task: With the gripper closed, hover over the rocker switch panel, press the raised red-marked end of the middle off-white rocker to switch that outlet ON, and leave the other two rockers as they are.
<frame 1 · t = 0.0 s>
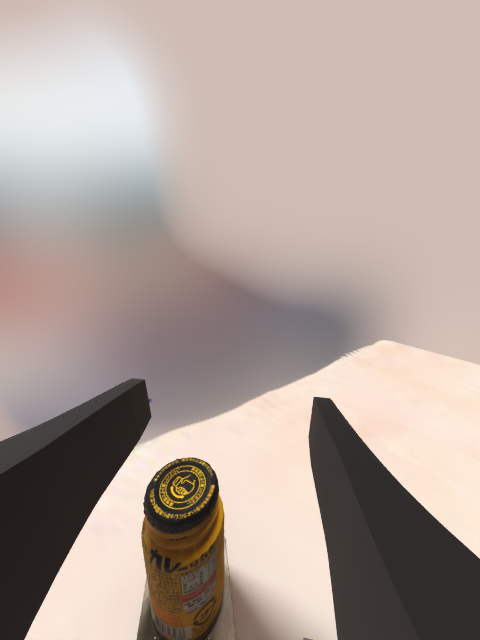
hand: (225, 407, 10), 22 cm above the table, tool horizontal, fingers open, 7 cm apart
condiment: (187, 609, 19), on the table
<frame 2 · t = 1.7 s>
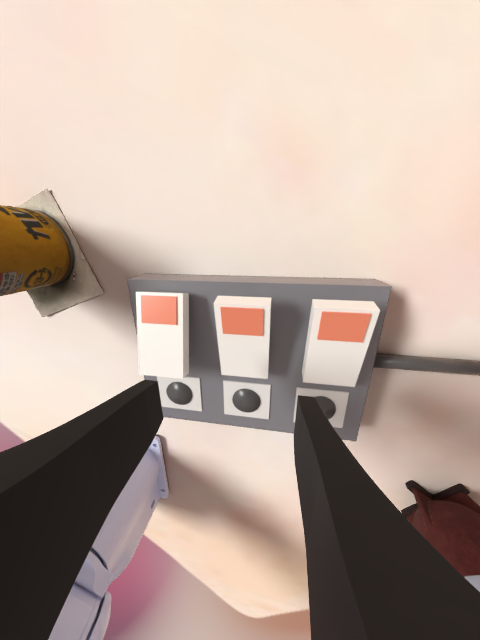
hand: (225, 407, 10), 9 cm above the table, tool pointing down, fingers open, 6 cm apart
condiment: (50, 259, 20), on the table
mate gourd: (431, 501, 22), on the table
rocker switch panel: (250, 348, 19), on the table
rocker middle: (244, 340, 14), point 4 cm above the table, hinge at -12.0°
rocker near arm: (163, 334, 15), point 4 cm above the table, hinge at 12.0°
rocker near camera: (335, 346, 14), point 4 cm above the table, hinge at -12.0°
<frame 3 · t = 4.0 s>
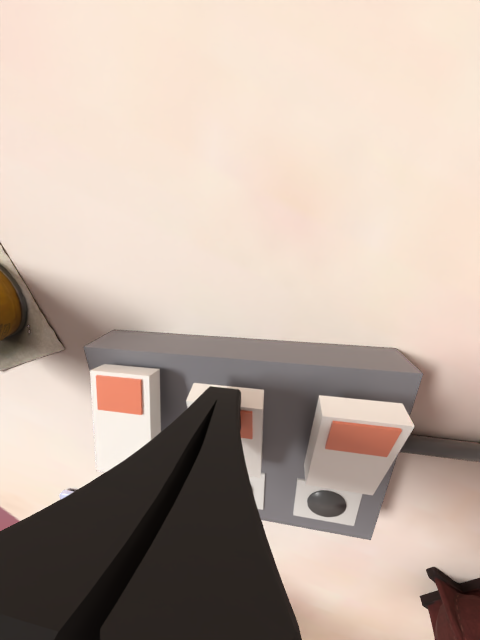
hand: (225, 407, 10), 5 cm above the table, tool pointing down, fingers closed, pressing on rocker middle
condiment: (0, 307, 16), on the table
mate gourd: (456, 588, 18), on the table
rocker switch panel: (241, 417, 16), on the table
rocker middle: (229, 434, 11), point 4 cm above the table, hinge at -11.8°, touching gripper
rocker near arm: (126, 421, 12), point 4 cm above the table, hinge at 12.0°
rocker near camera: (348, 450, 10), point 4 cm above the table, hinge at -12.0°
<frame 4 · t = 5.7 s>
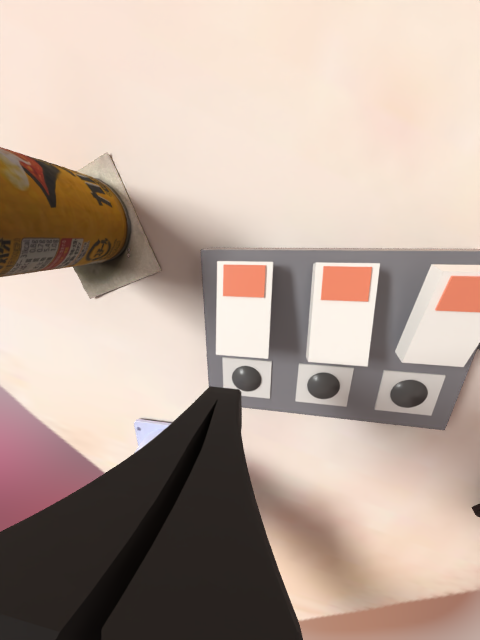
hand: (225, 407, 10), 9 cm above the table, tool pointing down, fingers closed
condiment: (102, 234, 18), on the table
rocker switch panel: (322, 330, 17), on the table
rocker middle: (339, 314, 13), point 4 cm above the table, hinge at 11.4°
rocker near arm: (244, 309, 14), point 4 cm above the table, hinge at 12.0°
rocker near camera: (449, 319, 12), point 4 cm above the table, hinge at -12.0°
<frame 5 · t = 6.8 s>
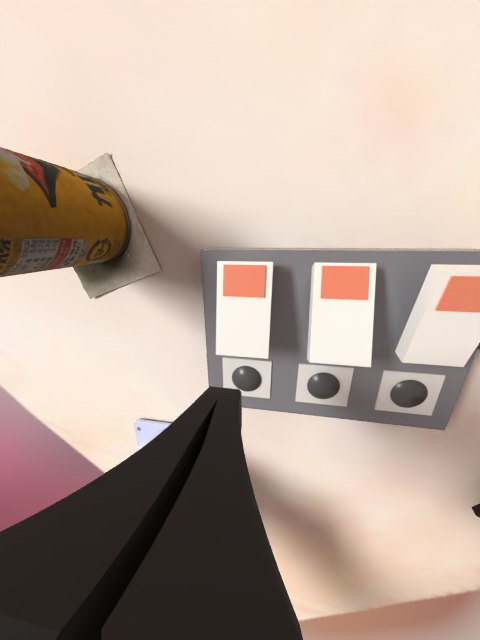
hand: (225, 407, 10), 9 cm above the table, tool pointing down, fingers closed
condiment: (102, 234, 18), on the table
rocker switch panel: (322, 330, 17), on the table
rocker middle: (339, 314, 13), point 4 cm above the table, hinge at 20.4°, touching rocker switch panel
rocker near arm: (244, 309, 14), point 4 cm above the table, hinge at 12.0°
rocker near camera: (449, 319, 12), point 4 cm above the table, hinge at -12.0°
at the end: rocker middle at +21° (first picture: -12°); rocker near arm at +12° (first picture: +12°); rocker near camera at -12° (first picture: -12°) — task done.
